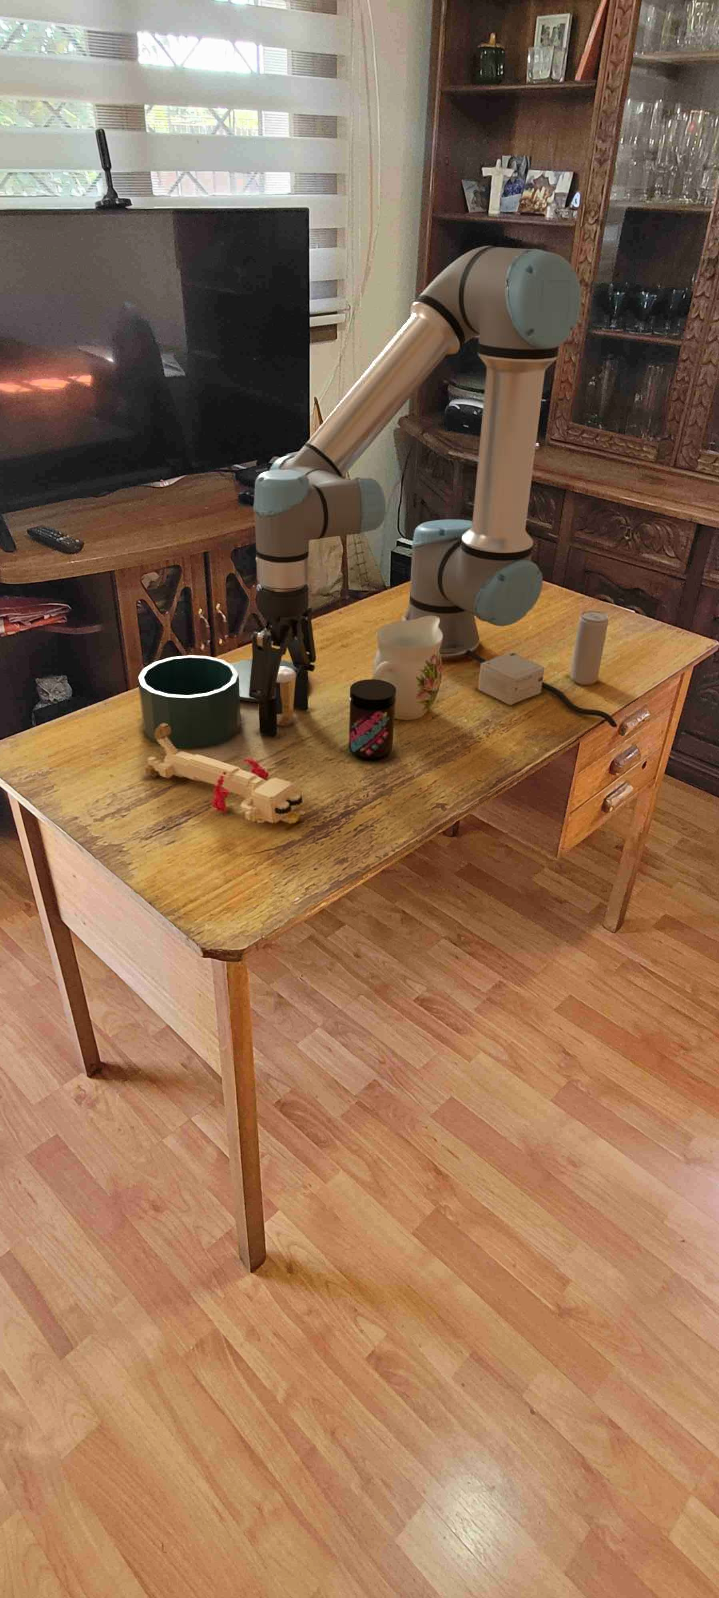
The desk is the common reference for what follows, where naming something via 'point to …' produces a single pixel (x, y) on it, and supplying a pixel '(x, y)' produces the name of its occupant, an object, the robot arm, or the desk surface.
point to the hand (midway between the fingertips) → (284, 720)
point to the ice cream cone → (285, 695)
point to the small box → (510, 678)
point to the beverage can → (588, 647)
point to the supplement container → (371, 719)
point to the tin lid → (245, 674)
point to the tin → (191, 700)
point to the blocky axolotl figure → (230, 782)
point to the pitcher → (410, 663)
